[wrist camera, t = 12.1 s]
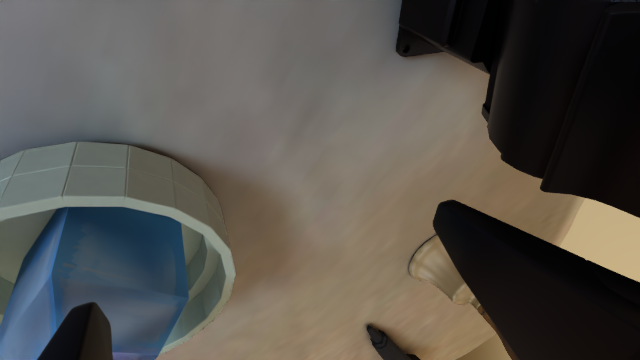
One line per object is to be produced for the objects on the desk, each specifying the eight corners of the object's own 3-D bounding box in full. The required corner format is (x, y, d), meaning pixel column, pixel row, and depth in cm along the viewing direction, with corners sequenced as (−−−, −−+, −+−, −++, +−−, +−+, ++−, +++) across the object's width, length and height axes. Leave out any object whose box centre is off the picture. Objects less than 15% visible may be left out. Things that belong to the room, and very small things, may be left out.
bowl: (199, 116, 19) (212, 166, 16) (234, 271, 28) (247, 325, 25) (-133, 168, 15) (-220, 252, 12) (30, 331, 24) (10, 407, 20)
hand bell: (474, 216, 37) (621, 356, 26) (466, 259, 43) (583, 390, 31) (407, 246, 36) (531, 410, 25) (408, 287, 42) (508, 435, 30)
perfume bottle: (131, 279, 24) (122, 494, 15) (23, 258, 20) (-71, 533, 11) (180, 218, 22) (202, 419, 14) (74, 183, 18) (10, 433, 10)
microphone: (346, 311, 46) (394, 364, 58) (351, 356, 42) (401, 403, 53) (385, 300, 44) (426, 356, 56) (394, 346, 40) (436, 396, 52)
